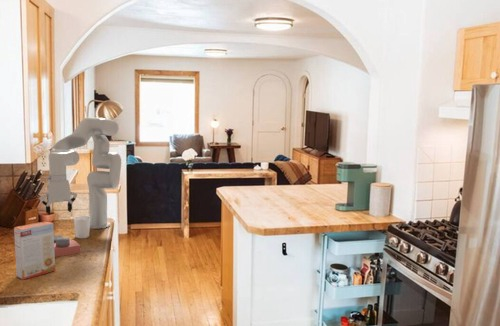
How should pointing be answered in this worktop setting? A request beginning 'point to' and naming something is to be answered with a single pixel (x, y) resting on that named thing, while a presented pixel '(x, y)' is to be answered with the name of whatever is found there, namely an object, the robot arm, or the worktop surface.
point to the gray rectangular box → (57, 237)
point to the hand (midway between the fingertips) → (59, 212)
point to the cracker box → (34, 249)
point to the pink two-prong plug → (66, 247)
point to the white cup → (82, 226)
